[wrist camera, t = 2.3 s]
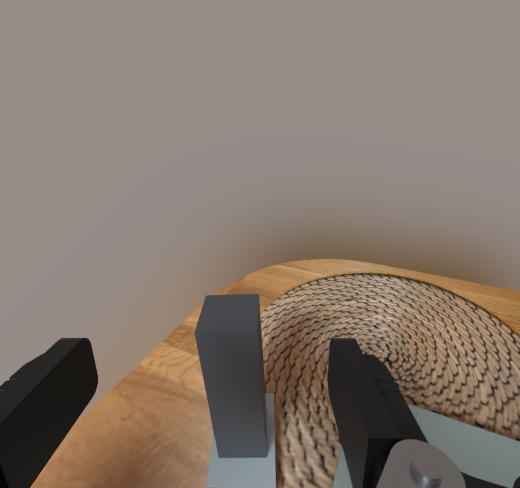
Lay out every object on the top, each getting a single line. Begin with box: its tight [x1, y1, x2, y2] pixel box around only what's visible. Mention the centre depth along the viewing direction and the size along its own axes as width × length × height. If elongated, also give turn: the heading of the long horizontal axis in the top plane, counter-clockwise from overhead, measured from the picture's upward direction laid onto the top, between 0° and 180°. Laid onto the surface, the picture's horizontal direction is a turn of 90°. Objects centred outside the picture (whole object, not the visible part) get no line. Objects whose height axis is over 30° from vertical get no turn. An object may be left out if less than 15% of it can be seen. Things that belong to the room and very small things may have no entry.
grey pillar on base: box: [195, 294, 276, 488], centre depth 27 cm, size 9×6×16 cm, turn 179°
